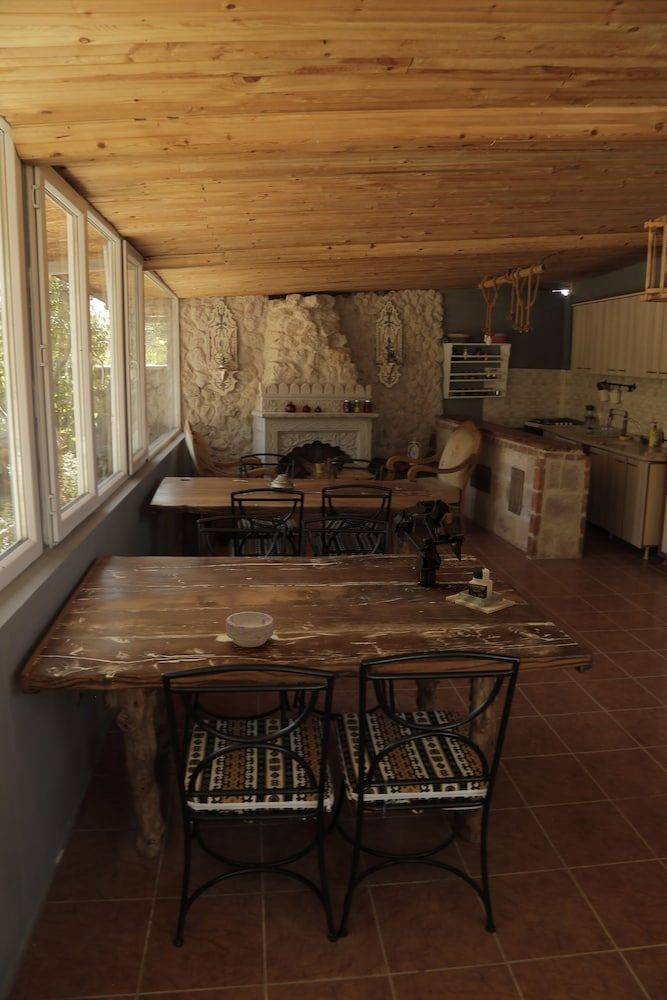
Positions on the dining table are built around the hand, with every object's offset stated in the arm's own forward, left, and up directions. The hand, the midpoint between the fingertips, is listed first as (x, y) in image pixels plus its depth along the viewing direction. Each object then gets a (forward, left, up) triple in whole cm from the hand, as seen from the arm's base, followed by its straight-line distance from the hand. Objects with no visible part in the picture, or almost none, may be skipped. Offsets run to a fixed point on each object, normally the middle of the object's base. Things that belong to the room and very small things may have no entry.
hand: (450, 561), depth 291 cm
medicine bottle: (+12, +3, -13) cm, 18 cm away
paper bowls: (-8, -87, -14) cm, 88 cm away
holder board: (+13, +3, -14) cm, 19 cm away
